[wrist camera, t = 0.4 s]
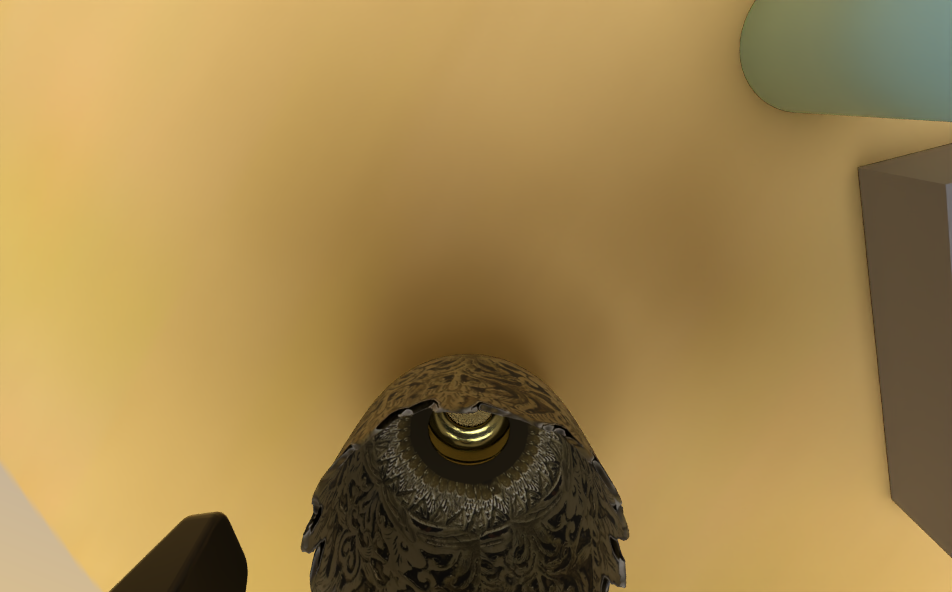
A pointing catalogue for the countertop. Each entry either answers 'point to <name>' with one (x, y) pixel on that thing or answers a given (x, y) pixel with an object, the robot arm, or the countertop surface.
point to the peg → (851, 57)
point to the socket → (914, 327)
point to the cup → (466, 492)
